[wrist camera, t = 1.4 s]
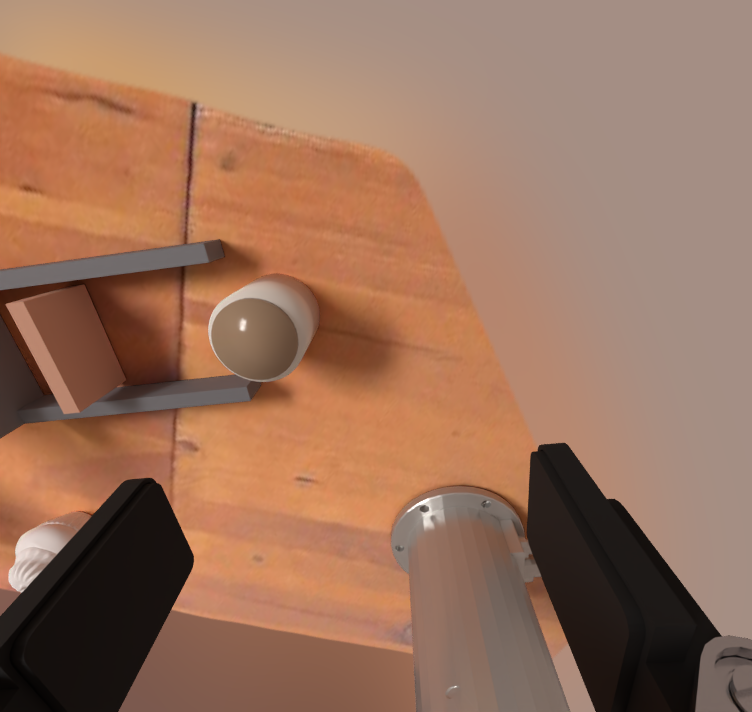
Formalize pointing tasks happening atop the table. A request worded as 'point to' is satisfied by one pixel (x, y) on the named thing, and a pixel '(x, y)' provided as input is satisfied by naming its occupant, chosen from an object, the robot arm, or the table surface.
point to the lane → (29, 405)
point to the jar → (264, 327)
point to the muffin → (43, 547)
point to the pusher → (68, 346)
